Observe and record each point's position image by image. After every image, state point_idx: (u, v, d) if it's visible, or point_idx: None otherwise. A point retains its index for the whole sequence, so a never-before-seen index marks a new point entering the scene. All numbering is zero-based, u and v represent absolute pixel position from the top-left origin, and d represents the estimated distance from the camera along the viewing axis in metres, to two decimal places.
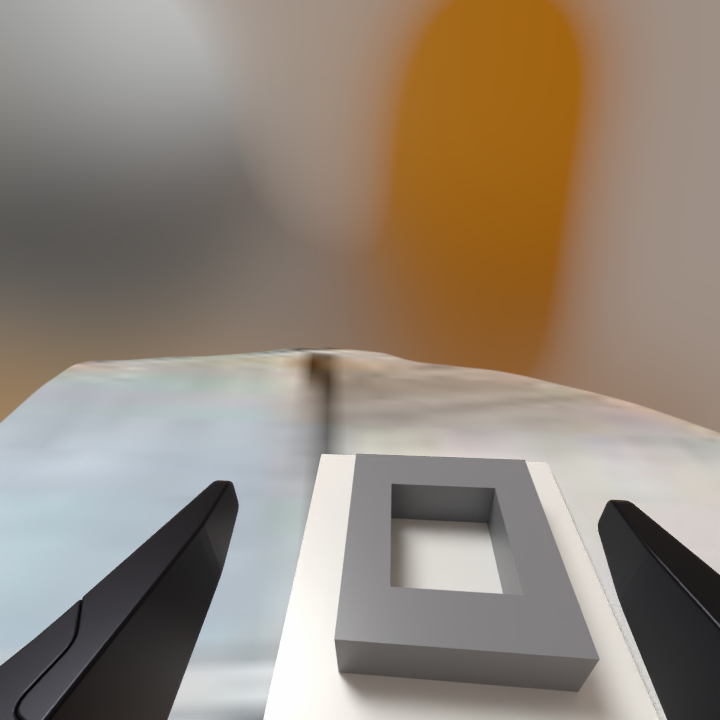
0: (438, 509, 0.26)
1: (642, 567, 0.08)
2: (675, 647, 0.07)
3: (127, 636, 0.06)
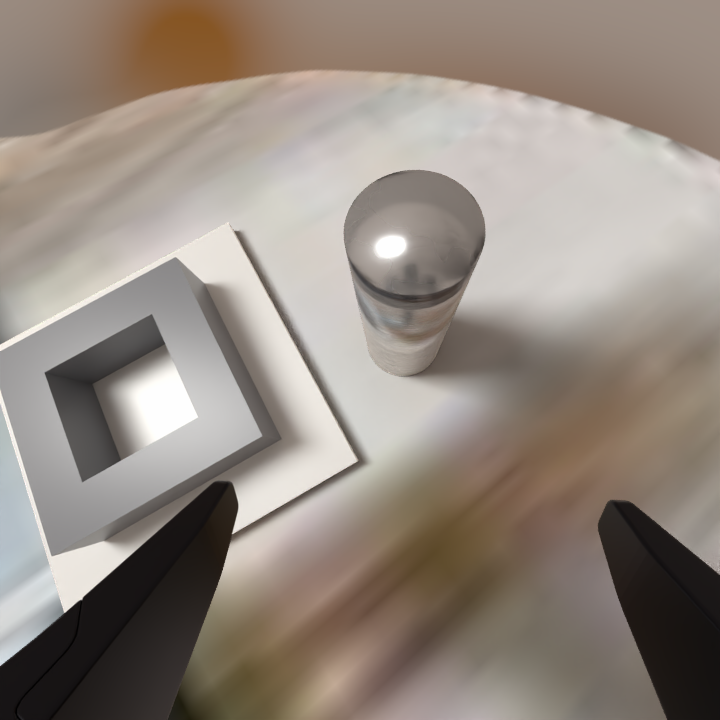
0: (125, 354, 0.24)
1: (642, 567, 0.08)
2: (675, 647, 0.07)
3: (127, 636, 0.06)
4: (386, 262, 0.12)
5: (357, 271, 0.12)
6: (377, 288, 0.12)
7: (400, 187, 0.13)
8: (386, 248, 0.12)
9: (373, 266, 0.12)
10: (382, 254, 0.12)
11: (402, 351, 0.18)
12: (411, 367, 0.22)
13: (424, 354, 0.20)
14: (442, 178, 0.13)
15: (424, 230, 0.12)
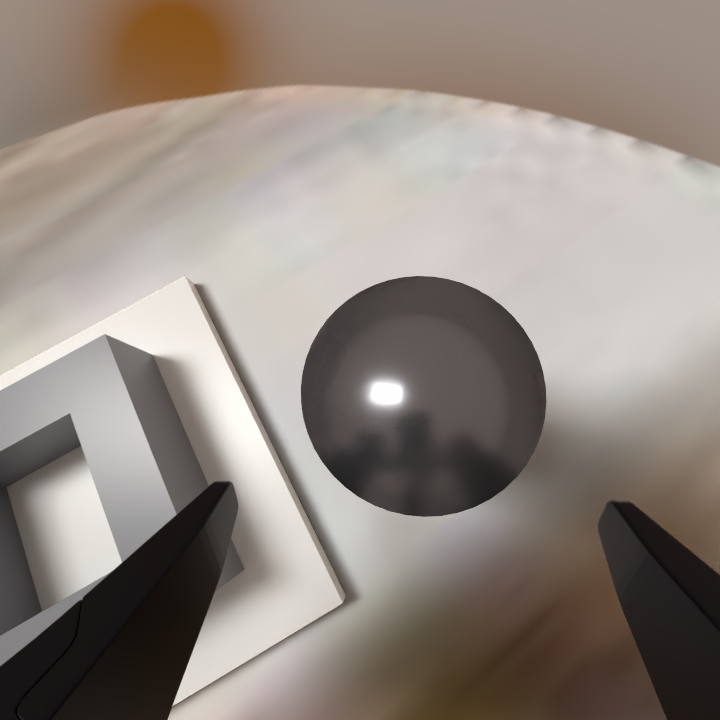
0: (44, 454, 0.18)
1: (642, 567, 0.08)
2: (675, 647, 0.07)
3: (127, 636, 0.06)
4: (372, 449, 0.07)
5: (323, 461, 0.07)
6: (357, 494, 0.07)
7: (398, 307, 0.08)
8: (372, 420, 0.07)
9: (350, 455, 0.07)
10: (366, 432, 0.07)
11: None
12: None
13: None
14: (468, 292, 0.08)
15: (439, 388, 0.07)
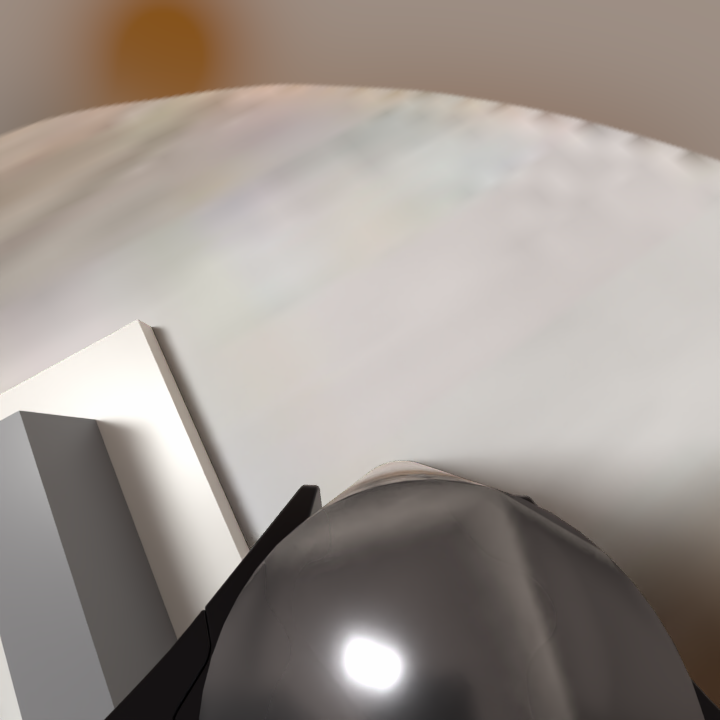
0: None
1: None
2: None
3: None
4: None
5: None
6: None
7: (396, 547, 0.04)
8: None
9: None
10: None
11: None
12: None
13: None
14: (537, 520, 0.04)
15: None
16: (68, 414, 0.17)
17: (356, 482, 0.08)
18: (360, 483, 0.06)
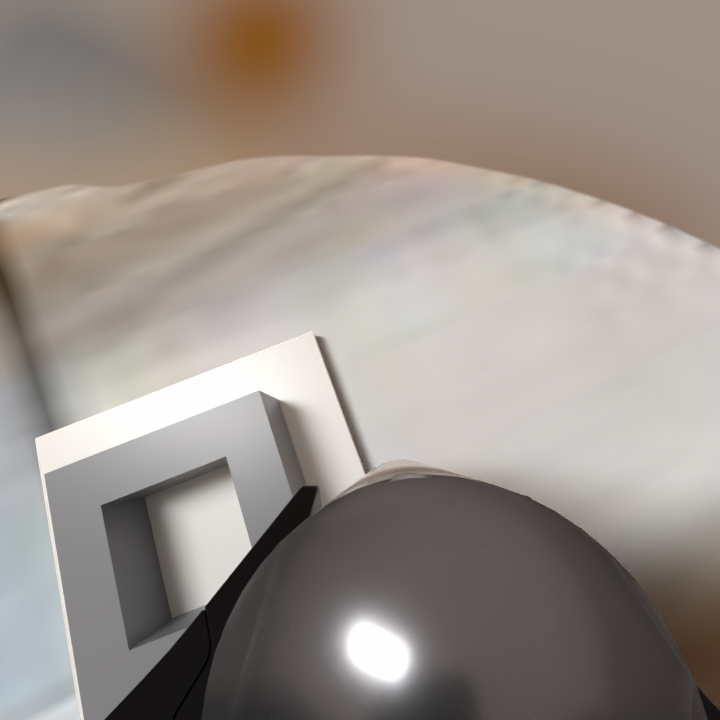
0: (186, 478, 0.21)
1: None
2: None
3: None
4: None
5: None
6: None
7: (399, 544, 0.04)
8: None
9: None
10: None
11: None
12: None
13: None
14: (540, 517, 0.04)
15: None
16: None
17: (357, 481, 0.08)
18: (362, 481, 0.06)
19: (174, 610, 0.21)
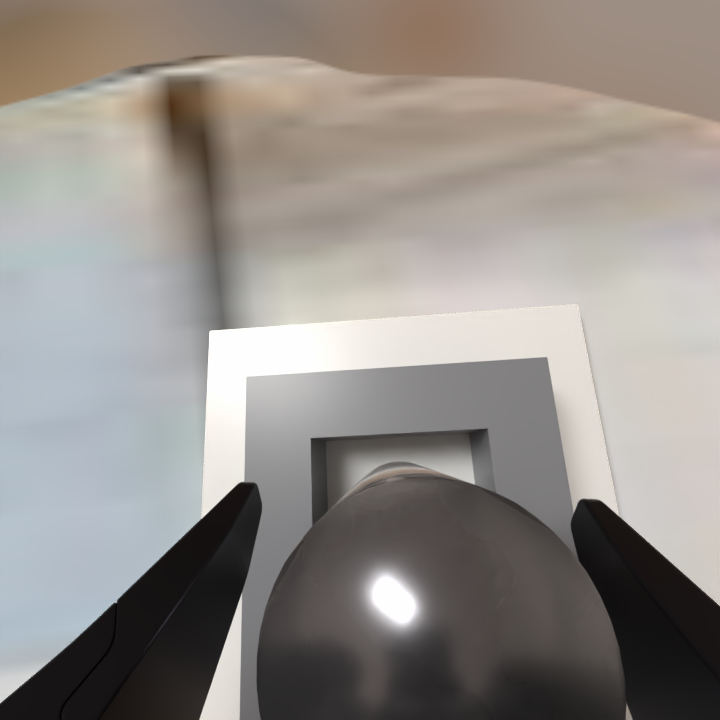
0: (395, 436, 0.17)
1: (608, 565, 0.08)
2: (638, 644, 0.07)
3: (164, 639, 0.06)
4: None
5: None
6: None
7: (400, 527, 0.05)
8: None
9: None
10: None
11: None
12: None
13: None
14: (504, 507, 0.05)
15: (463, 670, 0.05)
16: (493, 359, 0.18)
17: (363, 480, 0.09)
18: (369, 481, 0.07)
19: None
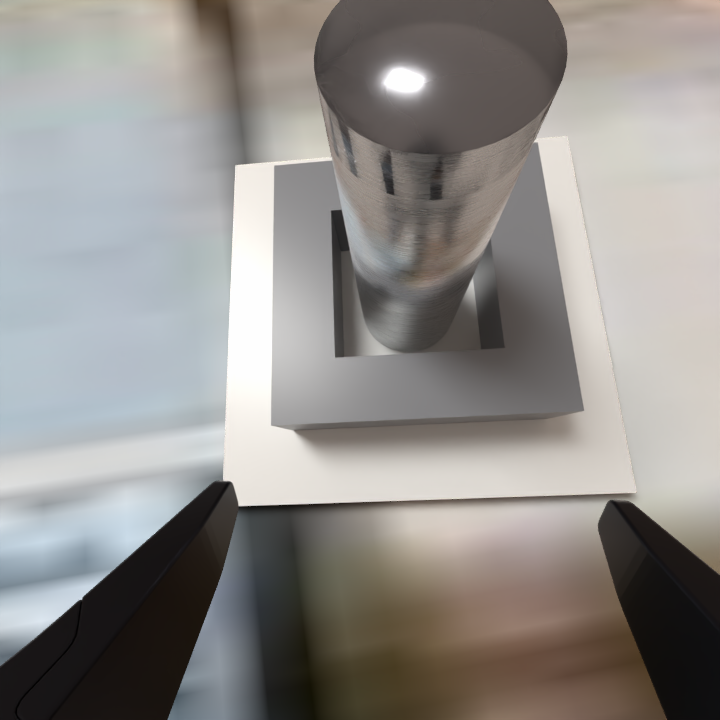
0: None
1: (642, 567, 0.08)
2: (675, 647, 0.07)
3: (127, 636, 0.06)
4: (387, 103, 0.07)
5: (337, 119, 0.07)
6: (371, 149, 0.07)
7: None
8: (388, 78, 0.07)
9: (365, 108, 0.07)
10: (382, 89, 0.07)
11: (409, 305, 0.13)
12: (420, 336, 0.16)
13: (439, 313, 0.14)
14: None
15: (456, 49, 0.07)
16: None
17: None
18: None
19: None
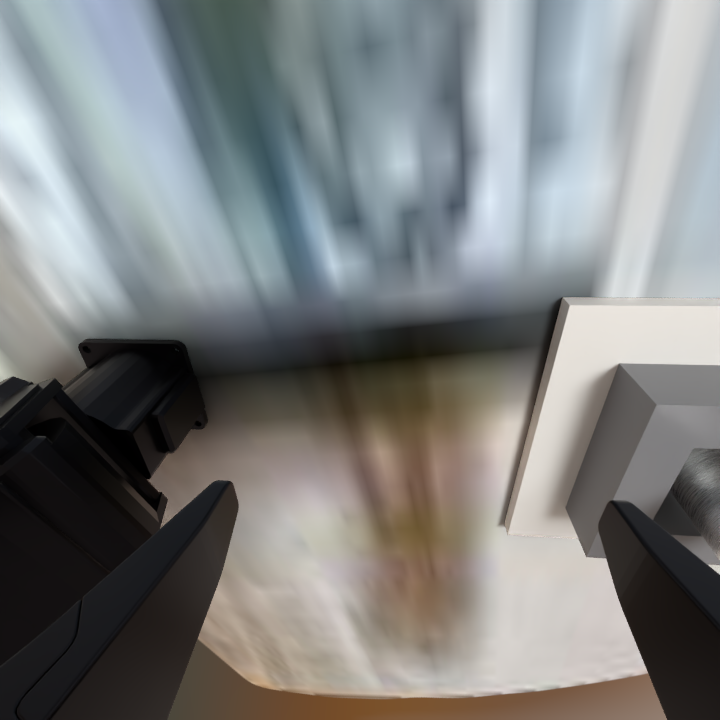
0: None
1: (642, 567, 0.08)
2: (675, 647, 0.07)
3: (127, 636, 0.06)
4: None
5: None
6: None
7: None
8: None
9: None
10: None
11: None
12: None
13: (696, 523, 0.20)
14: None
15: None
16: None
17: None
18: None
19: None
